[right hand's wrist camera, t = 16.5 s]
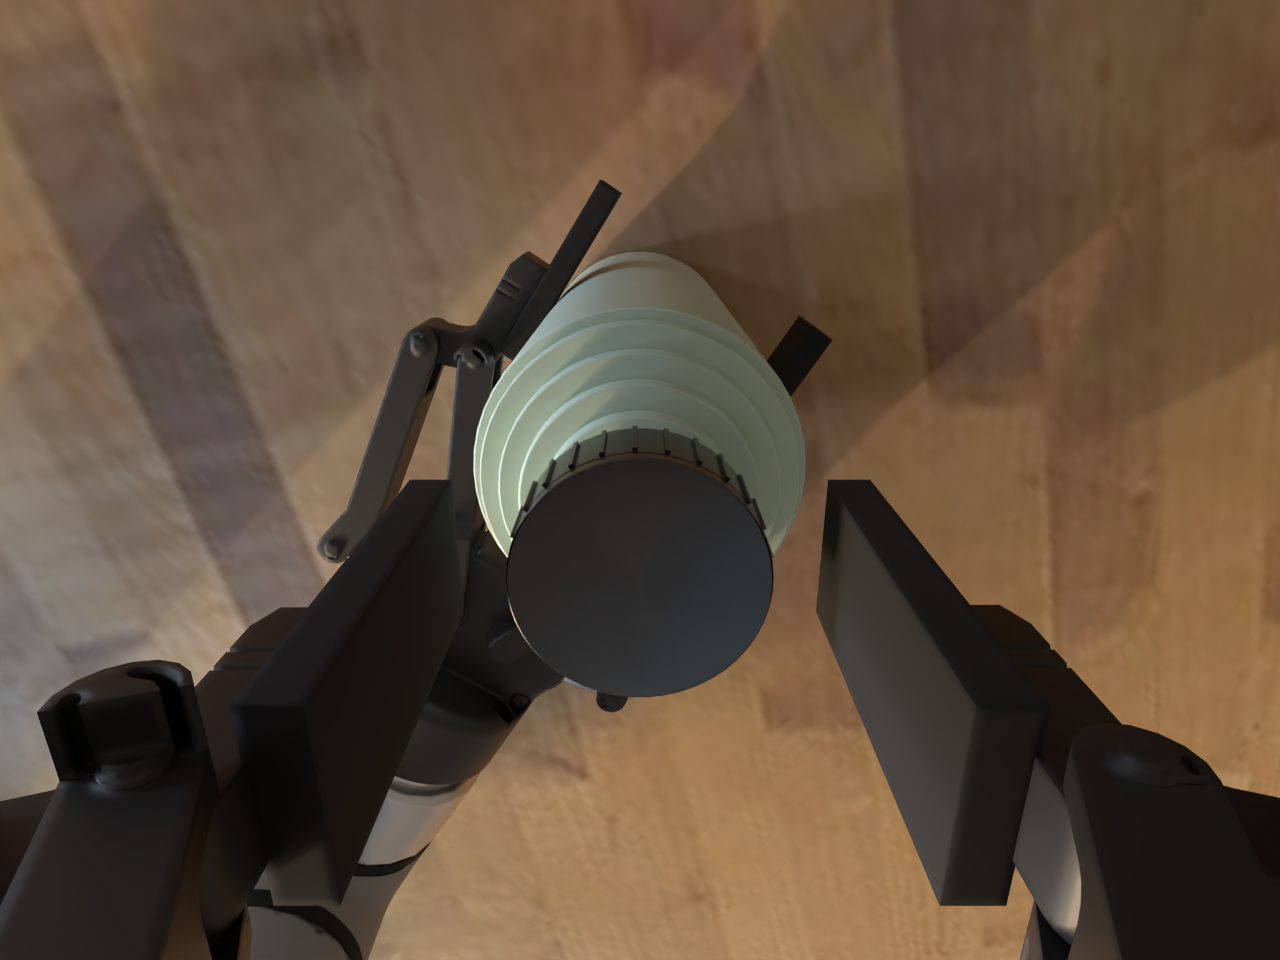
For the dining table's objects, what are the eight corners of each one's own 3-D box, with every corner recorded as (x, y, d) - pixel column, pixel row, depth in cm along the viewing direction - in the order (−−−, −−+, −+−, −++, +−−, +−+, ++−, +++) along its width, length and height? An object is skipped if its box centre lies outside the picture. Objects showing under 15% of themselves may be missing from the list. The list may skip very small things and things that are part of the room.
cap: (557, 390, 14) (545, 417, 12) (800, 470, 14) (821, 506, 12) (489, 608, 15) (471, 658, 13) (711, 672, 16) (719, 728, 14)
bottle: (762, 363, 34) (943, 613, 14) (621, 461, 35) (596, 814, 15) (660, 212, 32) (696, 247, 12) (514, 323, 33) (321, 526, 13)
